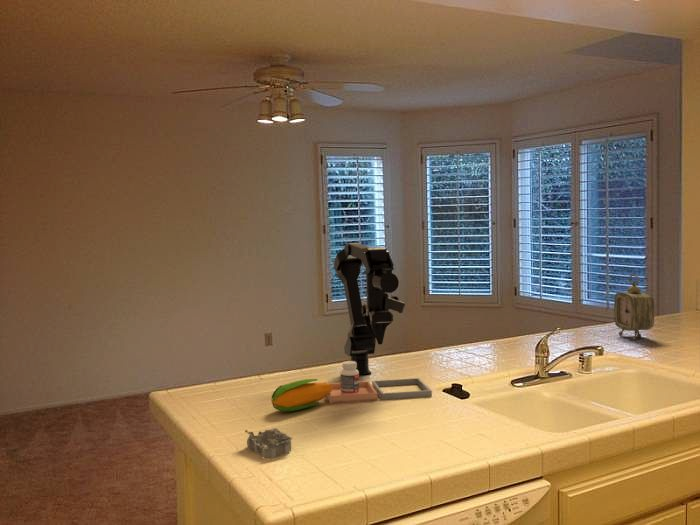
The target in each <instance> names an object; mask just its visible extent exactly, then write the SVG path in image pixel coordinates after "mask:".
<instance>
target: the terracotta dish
mask: <svg viewBox="0 0 700 525" xmlns="http://www.w3.org/2000/svg"><path fill="white" fill-rule="evenodd" d="M328 384H329V385H331V386H333V390H332V391H331V392H330V393H329V394H328V395H326V396H325V397H326V398H327V400H328V403H329V404H330V405H331V404H344V403H357V402H358V403H359V402H360V403H361V402H371V401H372V402H373V401H375V400H376V401H378V393H377V392H376V391H375V389H374V388H373V386H372V383H371V382H370V381H369V380H368V381H367V380H365V381H364V380H363V381H359V394H348V395H342V394H341V382H334V383H332V382H331V383H328Z"/></svg>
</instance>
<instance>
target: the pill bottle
mask: <svg viewBox="0 0 700 525" xmlns="http://www.w3.org/2000/svg"><path fill="white" fill-rule="evenodd" d="M342 368H343V369H342V370H341V371H340V383H341V394H342V395H348V394H359V382H360V375H359V371H358V370H357V369H356V368H357V363H356V362H355V361H351V360H347V361H343V362H342Z"/></svg>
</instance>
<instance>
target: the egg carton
mask: <svg viewBox="0 0 700 525" xmlns="http://www.w3.org/2000/svg"><path fill="white" fill-rule="evenodd" d="M244 432H245V433H247V435H249V436H248V438H247V440H246V445H247V449H248V450H254V453H255V454H257V453H258V454H261V457H262V458H263V457H264V458H263V459H267V458H268V459H275V458H276V457H277V454H278V455H285V454H286V455H289V454H290V452H291V451H292V441H291V440H292V439H293V438H294V437H291V436H289V435H287V433H284V432H281V430H279V428H277V427H276V428H271V429H265V430H264V431H262V430H259V431H258V434H256V435H255V434H254V432H253V431H248V430H247V429H245V431H244ZM264 442H267V443H266V444H265V443H264ZM289 451H290V452H289ZM274 457H275V458H274Z"/></svg>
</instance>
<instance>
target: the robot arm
mask: <svg viewBox="0 0 700 525" xmlns="http://www.w3.org/2000/svg"><path fill="white" fill-rule="evenodd" d="M362 265H363V266H364V268H365V270H364V273H365V276H366V278H365V280H366V281H365V282H366V283H365V285H366V287H365V289H366V291H365V297H366V303H364V304H363V303H362V298H361V292H360V287H359V282H358V278H359V277H360V274H361V271H362V270H361V268H362ZM394 265H395V264H394V262H393V259H392V257H391V255H390V251H388V249H387V248H386V247H385V246H375V247H371V246H367V245H364V244H362V243H360V242H348V243H346V244H345V245H344V247H343V249H341V250H340V251H339V252H338V253H337V254H336V256H335V258H334V261H333V268H334V270H335V273H336V277H337V278H338V280H339V281H340V282H341V283H342V284H343V288H344V294H345V299H346V305H347V311H348V315H349V317H348V318H349V323H350V327H349V329H348V332H347V339H346V342H345V344H344V347H343V351H344V354H345V355H347V357H348V356H349V357H350V361H355V362H356V363H357V368H356V369H357V370H358V371H359V376H362V375H363V376H364V375H371V374H372V371H371V370H370V367H369V355H374V354H375V351H376V343H377V344H378V346H379V345H380V346H381V345H382V344H383V343H384V342H383V341H384V338H385V333H386V330H387V327H388V326H389V325H391V324H392V323H393V322H394V314H393V313H392V312H390V310H391V311H394V312H398V313H400V314H403V312H404V310H405V307H406V302H404V301H402V300H400V299H399V297H398V296H397V295H395V294H394V295H391V296H389V294H391V293H394V292H395V291H397V289H398V287H399V283H400V282H399V278H398V277H397V275H396V274H395V273H393V271H394V270H395V268H394Z"/></svg>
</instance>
